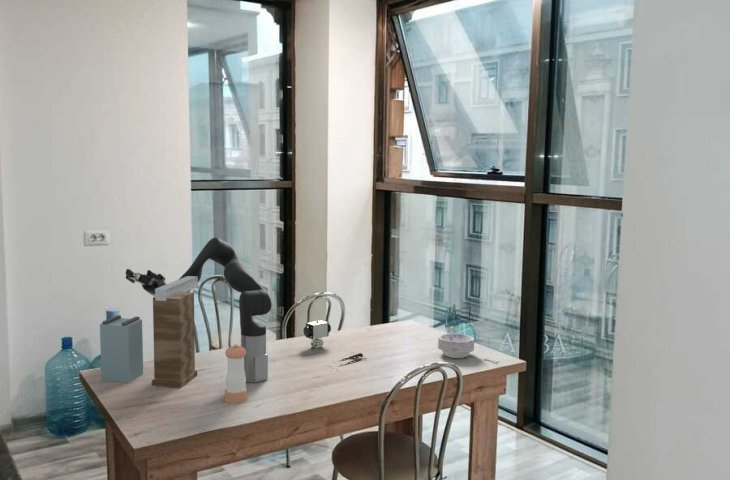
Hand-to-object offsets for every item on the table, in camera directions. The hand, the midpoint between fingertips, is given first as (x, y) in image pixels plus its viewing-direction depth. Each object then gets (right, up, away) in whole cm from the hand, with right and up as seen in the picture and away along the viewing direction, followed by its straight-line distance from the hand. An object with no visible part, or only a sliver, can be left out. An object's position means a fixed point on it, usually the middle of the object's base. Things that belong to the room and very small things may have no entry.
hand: (137, 271), depth 254 cm
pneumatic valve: (+66, -35, +35) cm, 83 cm away
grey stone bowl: (+126, -37, +27) cm, 134 cm away
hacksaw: (+80, -38, +14) cm, 90 cm away
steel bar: (+19, -7, -12) cm, 24 cm away
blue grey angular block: (-2, -39, -9) cm, 40 cm away
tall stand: (+18, -39, -11) cm, 45 cm away
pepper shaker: (+43, -42, -29) cm, 67 cm away
